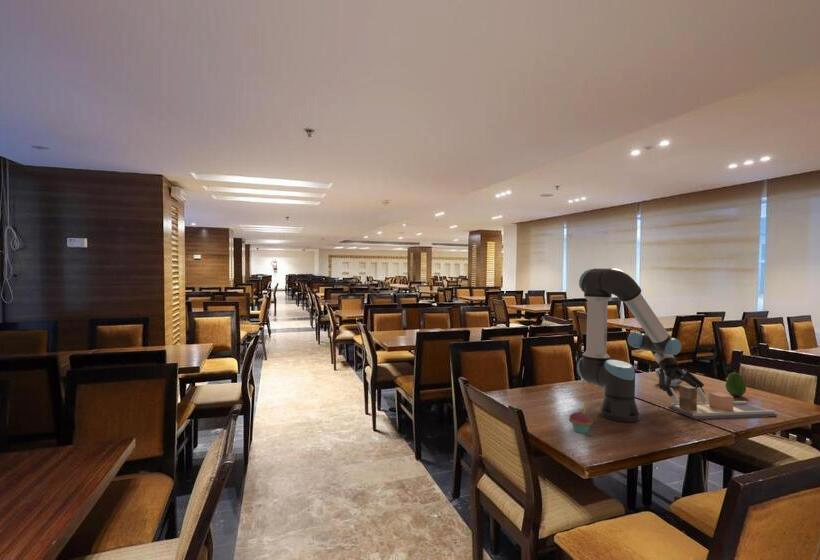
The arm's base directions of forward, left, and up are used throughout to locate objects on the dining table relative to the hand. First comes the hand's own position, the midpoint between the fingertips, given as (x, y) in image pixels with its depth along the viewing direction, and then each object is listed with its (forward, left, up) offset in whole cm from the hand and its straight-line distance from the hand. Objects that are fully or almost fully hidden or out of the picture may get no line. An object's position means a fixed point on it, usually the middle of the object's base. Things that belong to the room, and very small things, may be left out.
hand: (691, 402), depth 172 cm
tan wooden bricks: (+8, +7, -4) cm, 11 cm away
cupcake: (-44, -41, -6) cm, 60 cm away
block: (+13, +10, -4) cm, 16 cm away
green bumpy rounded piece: (+27, +42, -6) cm, 50 cm away
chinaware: (+1, +53, -6) cm, 54 cm away
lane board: (+13, +10, -5) cm, 17 cm away
